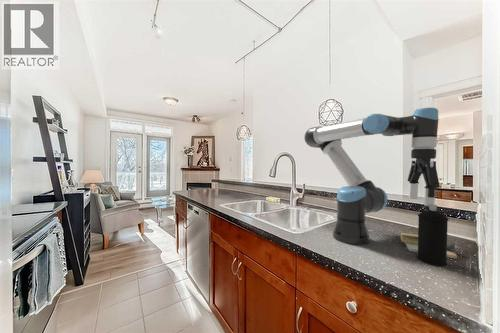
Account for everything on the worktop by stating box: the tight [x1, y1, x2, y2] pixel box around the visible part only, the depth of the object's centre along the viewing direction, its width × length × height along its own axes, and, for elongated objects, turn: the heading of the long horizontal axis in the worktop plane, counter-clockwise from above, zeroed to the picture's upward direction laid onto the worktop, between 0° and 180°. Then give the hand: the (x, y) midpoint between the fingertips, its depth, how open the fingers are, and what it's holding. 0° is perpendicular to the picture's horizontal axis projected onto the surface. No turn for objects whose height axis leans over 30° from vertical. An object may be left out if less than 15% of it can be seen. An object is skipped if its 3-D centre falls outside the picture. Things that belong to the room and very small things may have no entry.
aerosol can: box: [416, 204, 449, 267], centre depth 73 cm, size 8×8×20 cm
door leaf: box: [447, 242, 458, 260], centre depth 83 cm, size 8×15×4 cm, turn 153°
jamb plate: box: [403, 242, 418, 253], centre depth 87 cm, size 7×15×1 cm, turn 153°
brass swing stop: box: [400, 232, 418, 244], centre depth 87 cm, size 10×4×4 cm, turn 63°
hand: (420, 202), depth 82 cm, fingers open, 13 cm apart
